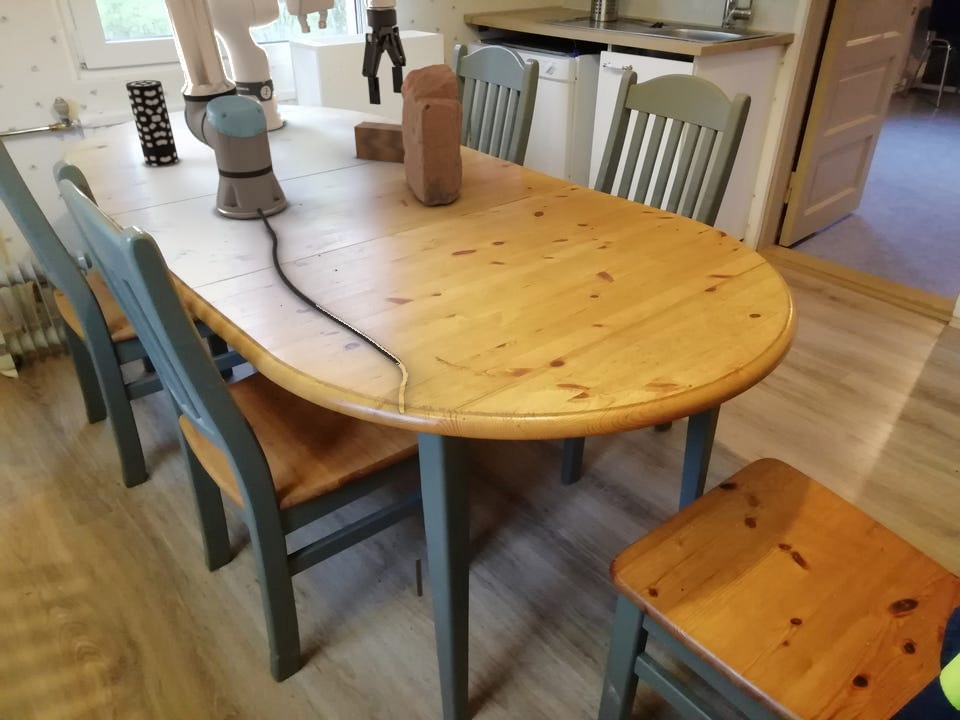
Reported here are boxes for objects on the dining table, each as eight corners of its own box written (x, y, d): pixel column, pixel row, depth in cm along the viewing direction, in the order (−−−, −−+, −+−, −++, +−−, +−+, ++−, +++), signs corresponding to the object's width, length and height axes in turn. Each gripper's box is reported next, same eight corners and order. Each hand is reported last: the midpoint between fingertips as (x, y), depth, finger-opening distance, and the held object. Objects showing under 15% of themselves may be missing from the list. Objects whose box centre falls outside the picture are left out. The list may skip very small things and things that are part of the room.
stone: (471, 203, 161) (470, 74, 147) (425, 208, 158) (419, 77, 144) (446, 179, 178) (443, 61, 164) (404, 183, 175) (396, 64, 161)
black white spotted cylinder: (184, 157, 190) (167, 80, 179) (169, 166, 183) (151, 87, 172) (155, 156, 190) (136, 79, 179) (139, 165, 183) (119, 86, 172)
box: (445, 159, 191) (444, 128, 187) (438, 166, 186) (437, 134, 182) (365, 152, 197) (363, 121, 192) (356, 158, 192) (353, 126, 187)
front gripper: (389, 2, 180) (395, 87, 192) (341, 13, 161) (351, 107, 172) (415, 3, 178) (419, 89, 190) (370, 14, 159) (378, 110, 170)
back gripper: (316, -31, 189) (322, 25, 196) (277, -26, 172) (285, 35, 179) (337, -30, 187) (342, 26, 195) (300, -25, 171) (307, 36, 178)
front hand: (387, 98), depth 181 cm, fingers open, 13 cm apart
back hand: (314, 30), depth 187 cm, fingers open, 8 cm apart
